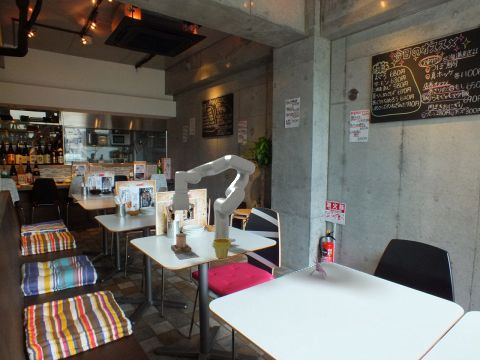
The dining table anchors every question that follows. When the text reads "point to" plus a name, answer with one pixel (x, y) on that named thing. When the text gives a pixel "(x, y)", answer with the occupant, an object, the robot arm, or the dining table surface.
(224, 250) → the plant pot
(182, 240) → the brown wooden block
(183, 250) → the holder
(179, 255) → the mat
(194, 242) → the dining table surface
